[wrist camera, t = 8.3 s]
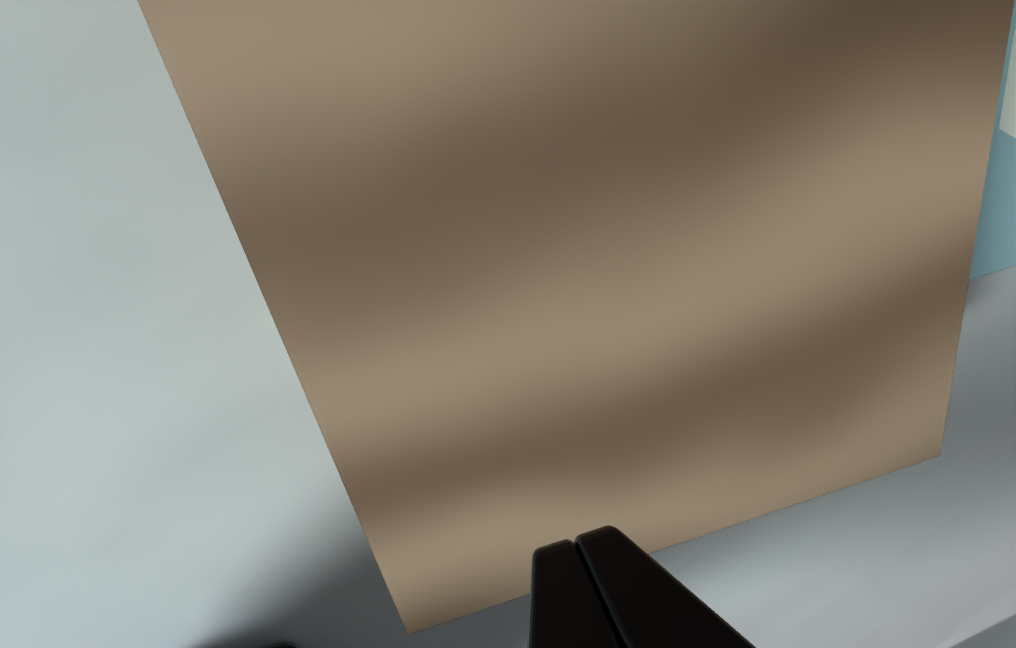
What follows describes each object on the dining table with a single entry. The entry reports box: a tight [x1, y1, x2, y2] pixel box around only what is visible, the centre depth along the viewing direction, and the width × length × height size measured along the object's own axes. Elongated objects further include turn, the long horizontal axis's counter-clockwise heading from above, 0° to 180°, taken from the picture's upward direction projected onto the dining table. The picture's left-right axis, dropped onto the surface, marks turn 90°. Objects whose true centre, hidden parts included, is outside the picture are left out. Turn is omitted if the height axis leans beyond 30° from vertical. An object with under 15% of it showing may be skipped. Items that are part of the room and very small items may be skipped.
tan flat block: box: [137, 0, 1015, 635], centre depth 17 cm, size 22×14×4 cm, turn 11°
